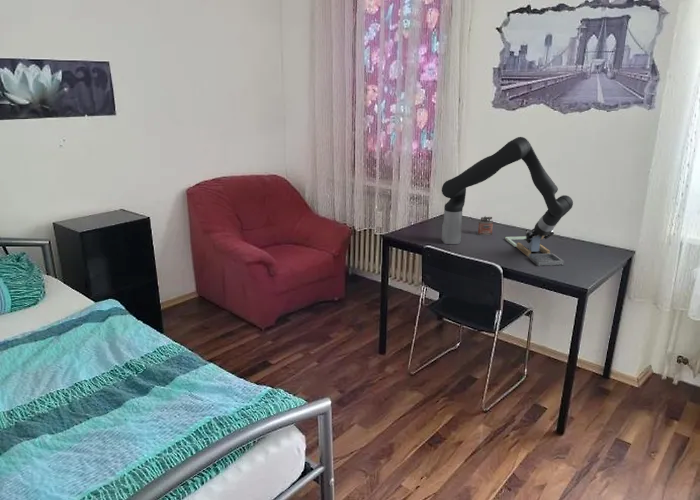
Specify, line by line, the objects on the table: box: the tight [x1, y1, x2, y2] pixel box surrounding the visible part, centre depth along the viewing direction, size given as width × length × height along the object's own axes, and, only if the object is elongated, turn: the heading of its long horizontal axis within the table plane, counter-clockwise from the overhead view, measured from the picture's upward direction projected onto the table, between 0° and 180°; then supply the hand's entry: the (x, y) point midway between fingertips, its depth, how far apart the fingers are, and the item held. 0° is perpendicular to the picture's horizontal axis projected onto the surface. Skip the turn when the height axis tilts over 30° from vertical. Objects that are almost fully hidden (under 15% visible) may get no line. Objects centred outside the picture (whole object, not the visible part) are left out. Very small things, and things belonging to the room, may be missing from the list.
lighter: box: [477, 215, 494, 236], centre depth 283 cm, size 8×3×10 cm, turn 92°
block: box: [527, 236, 542, 253], centre depth 254 cm, size 4×4×9 cm
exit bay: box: [504, 235, 527, 248], centre depth 270 cm, size 12×13×1 cm
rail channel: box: [516, 242, 551, 257], centre depth 256 cm, size 11×14×2 cm
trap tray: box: [528, 252, 565, 267], centre depth 242 cm, size 12×11×2 cm
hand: (532, 241), depth 256 cm, fingers closed on block, 4 cm apart
